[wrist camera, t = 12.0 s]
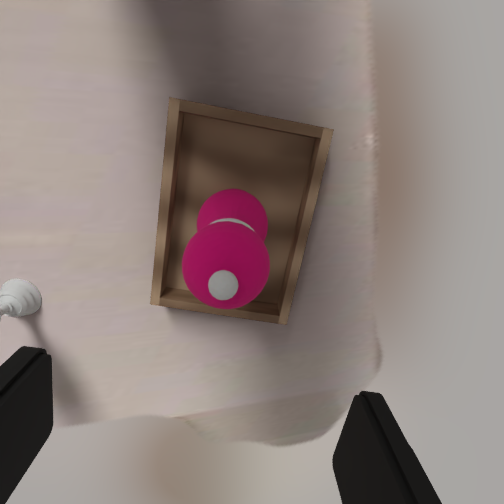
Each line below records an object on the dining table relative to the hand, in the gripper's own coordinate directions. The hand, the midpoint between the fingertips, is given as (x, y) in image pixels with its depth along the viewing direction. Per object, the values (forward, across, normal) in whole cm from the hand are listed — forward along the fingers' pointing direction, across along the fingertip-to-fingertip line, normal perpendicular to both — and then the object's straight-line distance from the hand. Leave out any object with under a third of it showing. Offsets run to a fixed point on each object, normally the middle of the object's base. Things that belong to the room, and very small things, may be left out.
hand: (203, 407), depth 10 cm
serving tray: (+30, 0, +1) cm, 30 cm away
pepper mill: (+29, 0, +1) cm, 29 cm away
